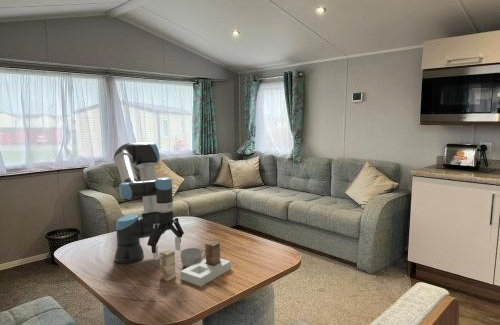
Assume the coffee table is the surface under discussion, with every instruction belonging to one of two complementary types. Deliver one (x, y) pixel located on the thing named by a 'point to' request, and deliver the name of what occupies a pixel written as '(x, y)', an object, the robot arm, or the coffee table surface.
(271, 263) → the coffee table surface
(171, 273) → the pin
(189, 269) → the bore block
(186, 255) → the teacup
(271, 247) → the coffee table surface
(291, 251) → the coffee table surface
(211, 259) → the walnut pin
